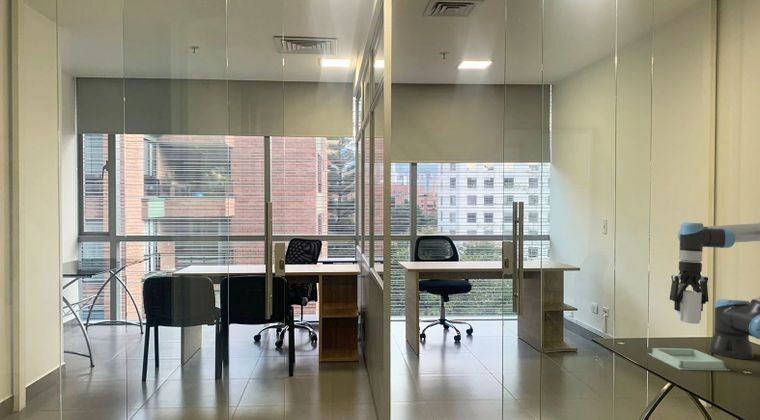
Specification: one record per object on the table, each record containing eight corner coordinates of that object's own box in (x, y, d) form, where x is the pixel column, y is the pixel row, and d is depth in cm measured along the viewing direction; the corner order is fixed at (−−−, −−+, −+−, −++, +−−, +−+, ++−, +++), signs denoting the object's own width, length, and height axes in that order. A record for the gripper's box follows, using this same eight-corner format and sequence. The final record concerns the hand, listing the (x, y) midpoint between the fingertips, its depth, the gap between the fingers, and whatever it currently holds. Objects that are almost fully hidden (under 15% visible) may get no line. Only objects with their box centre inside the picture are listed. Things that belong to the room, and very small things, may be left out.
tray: (693, 355, 186) (693, 348, 186) (730, 370, 168) (730, 362, 168) (647, 354, 185) (648, 347, 185) (679, 369, 167) (680, 362, 167)
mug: (700, 324, 171) (702, 293, 171) (679, 321, 175) (681, 291, 175) (699, 320, 179) (700, 290, 179) (679, 317, 183) (680, 288, 183)
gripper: (706, 261, 181) (704, 317, 181) (659, 259, 180) (657, 316, 180) (722, 263, 174) (719, 322, 174) (673, 261, 173) (670, 320, 173)
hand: (688, 319), depth 177 cm, fingers closed on mug, 7 cm apart
